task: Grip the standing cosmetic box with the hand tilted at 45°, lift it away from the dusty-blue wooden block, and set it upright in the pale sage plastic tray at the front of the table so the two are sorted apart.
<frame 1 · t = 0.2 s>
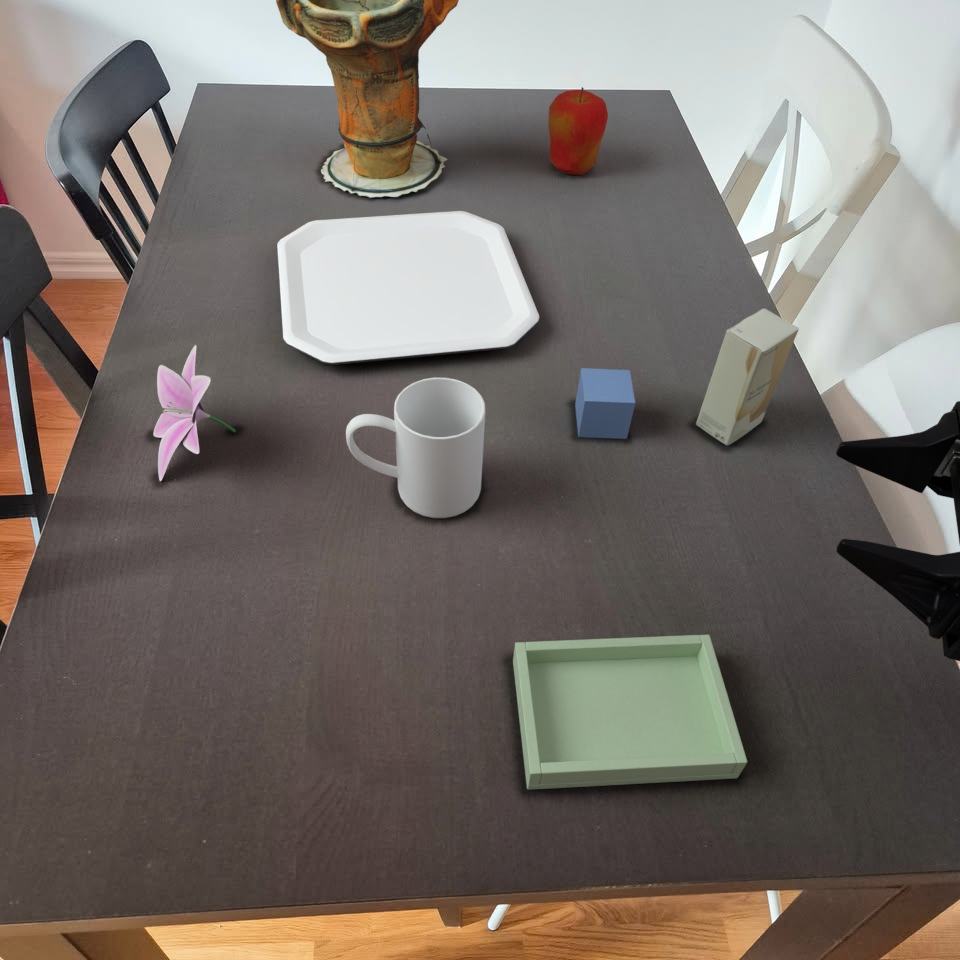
hand: (838, 494, 56), 18 cm above the table, tool horizontal, fingers open, 9 cm apart
blue block: (600, 421, 87), on the table
sage tray: (619, 716, 64), on the table
mug: (417, 491, 79), on the table
apple: (571, 169, 124), on the table
decorative vase: (377, 169, 122), on the table
lily: (193, 445, 82), on the table
cosmetic box: (728, 424, 87), on the table
plate: (403, 293, 101), on the table
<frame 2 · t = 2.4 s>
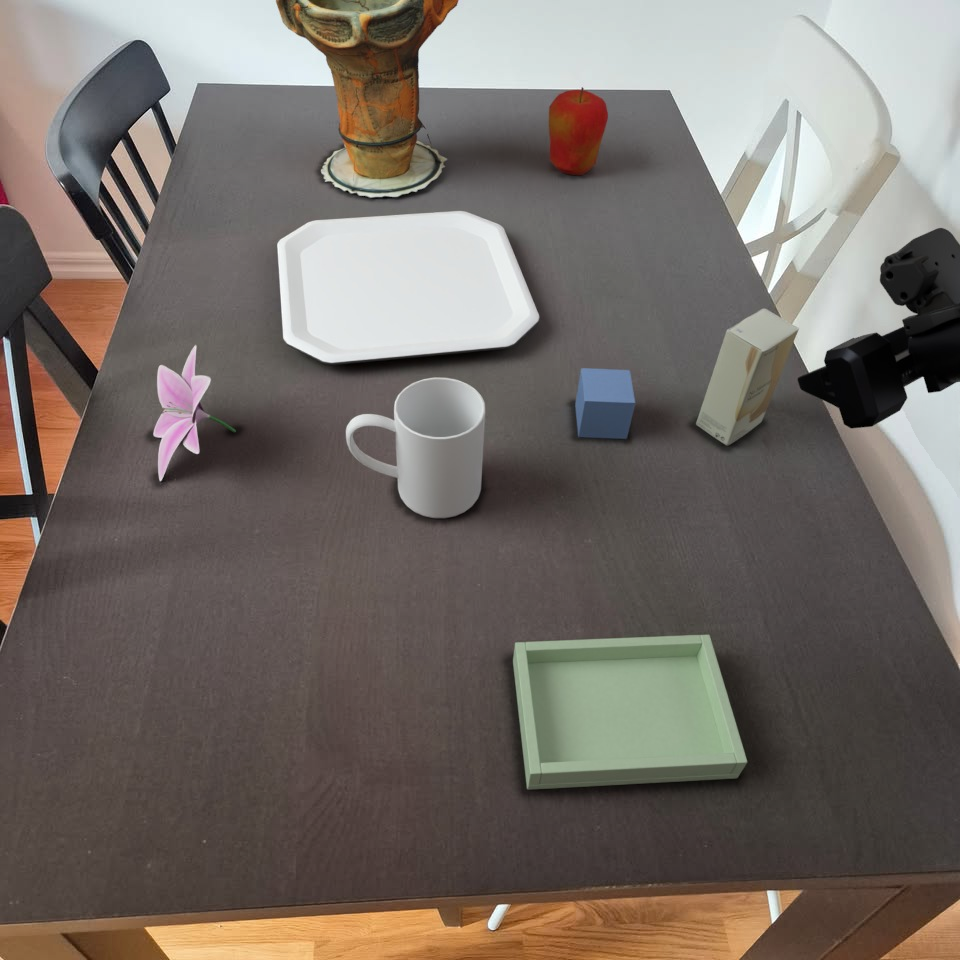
hand: (835, 365, 72), 14 cm above the table, tool tilted 45°, fingers open, 9 cm apart
nothing on the table moved.
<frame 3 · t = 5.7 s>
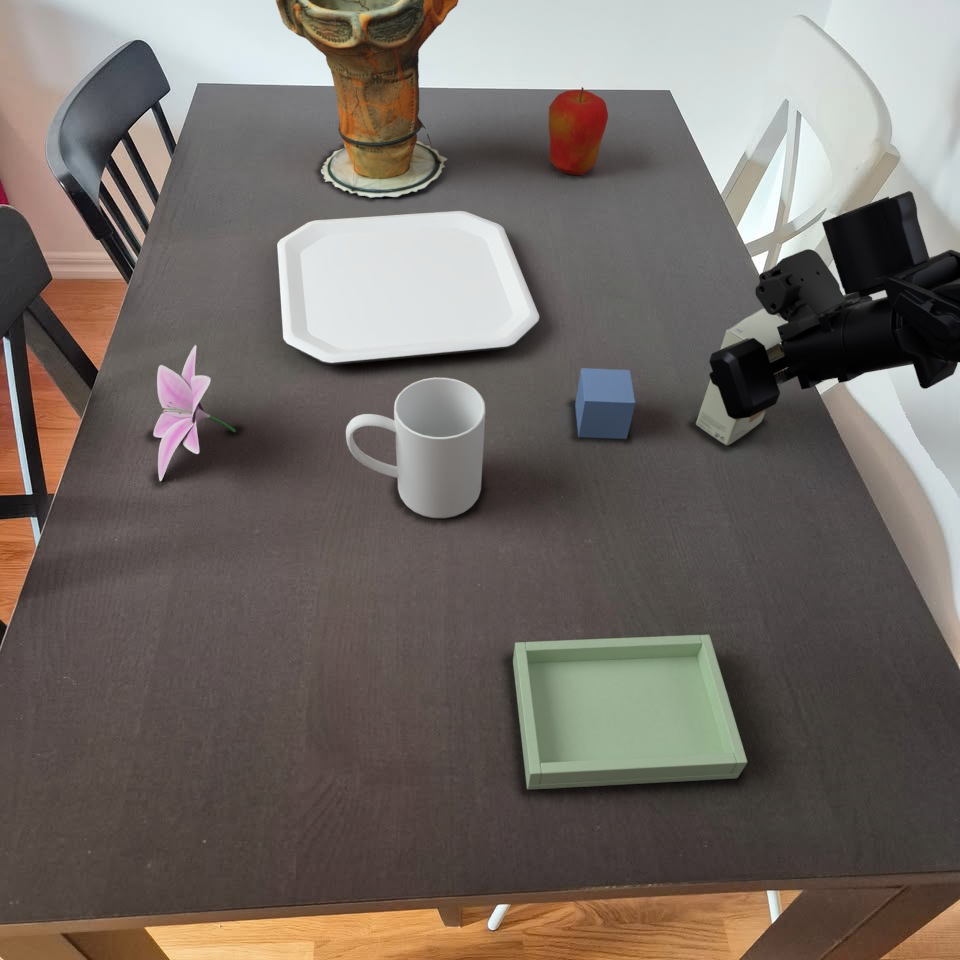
hand: (736, 367, 83), 7 cm above the table, tool tilted 45°, fingers closed on cosmetic box, 6 cm apart
cosmetic box: (728, 424, 87), on the table, touching gripper
everything else where it was.
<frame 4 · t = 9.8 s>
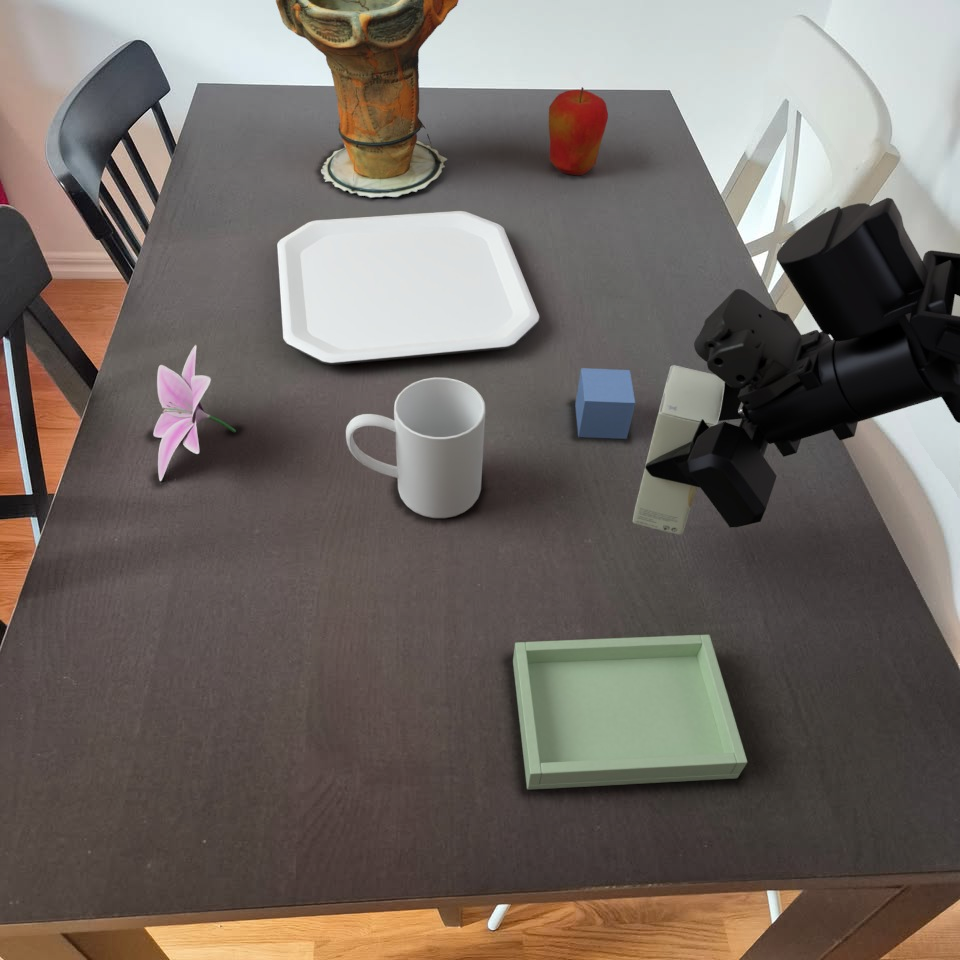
hand: (661, 443, 66), 13 cm above the table, tool tilted 45°, fingers closed on cosmetic box, 6 cm apart
cosmetic box: (662, 505, 70), point 6 cm above the table, touching gripper
everything else where it was.
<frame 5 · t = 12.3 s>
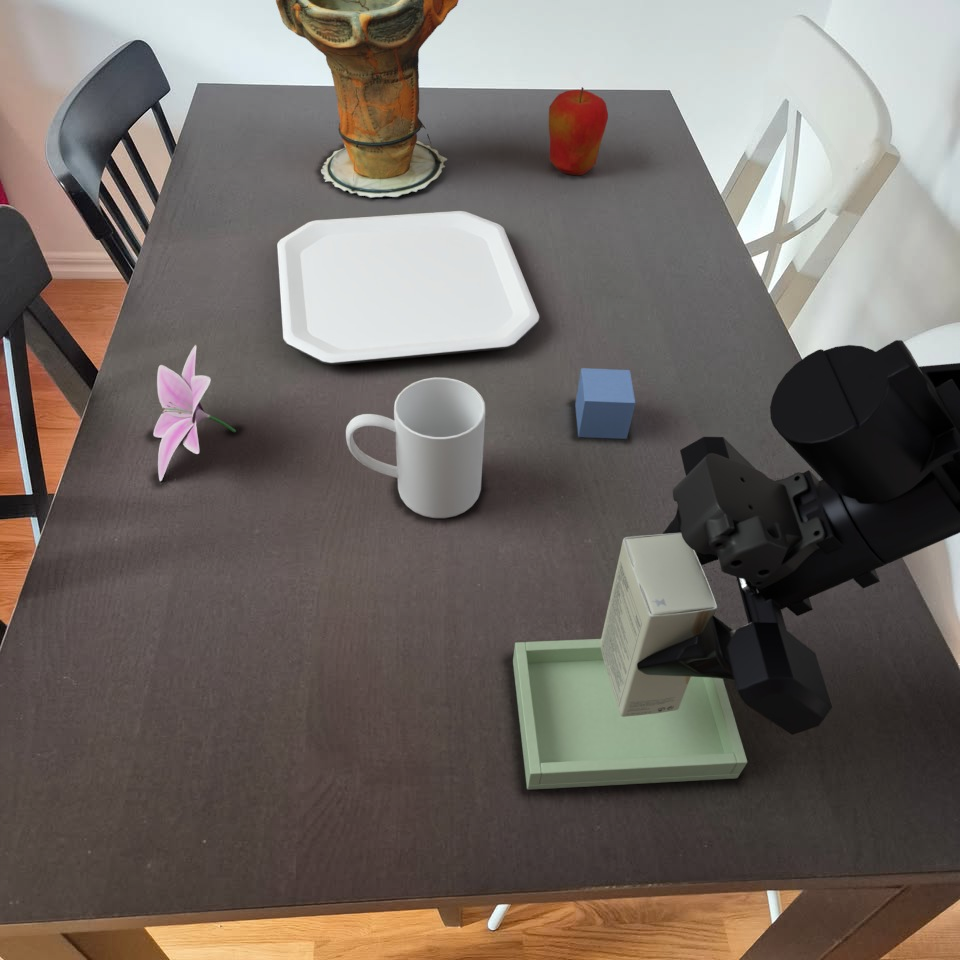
hand: (633, 623, 55), 13 cm above the table, tool tilted 45°, fingers closed on cosmetic box, 6 cm apart
cosmetic box: (636, 675, 60), point 6 cm above the table, touching gripper
everything else where it was.
when the fingers open (7 cm above the table, at t = 14.4 s): cosmetic box stays where it is, resting on sage tray.
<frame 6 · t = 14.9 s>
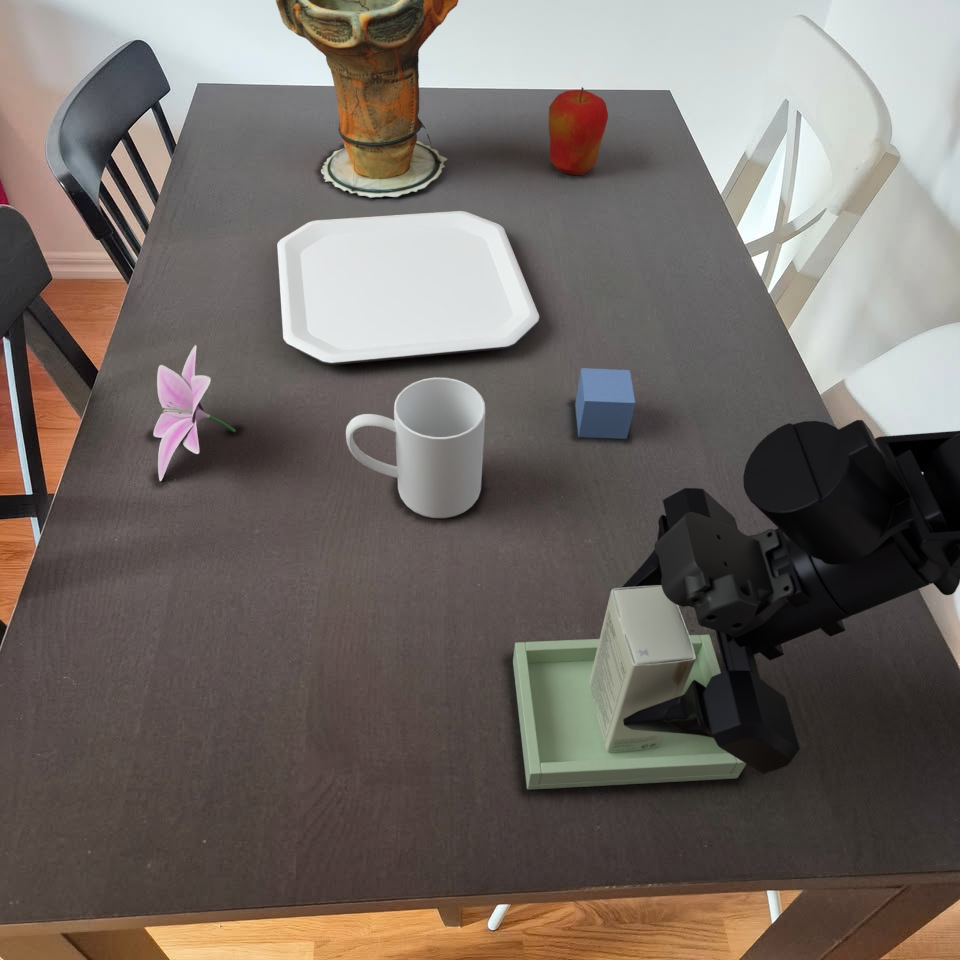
hand: (618, 663, 58), 8 cm above the table, tool tilted 45°, fingers open, 9 cm apart
cosmetic box: (622, 713, 64), point 1 cm above the table, touching sage tray
everything else where it was.
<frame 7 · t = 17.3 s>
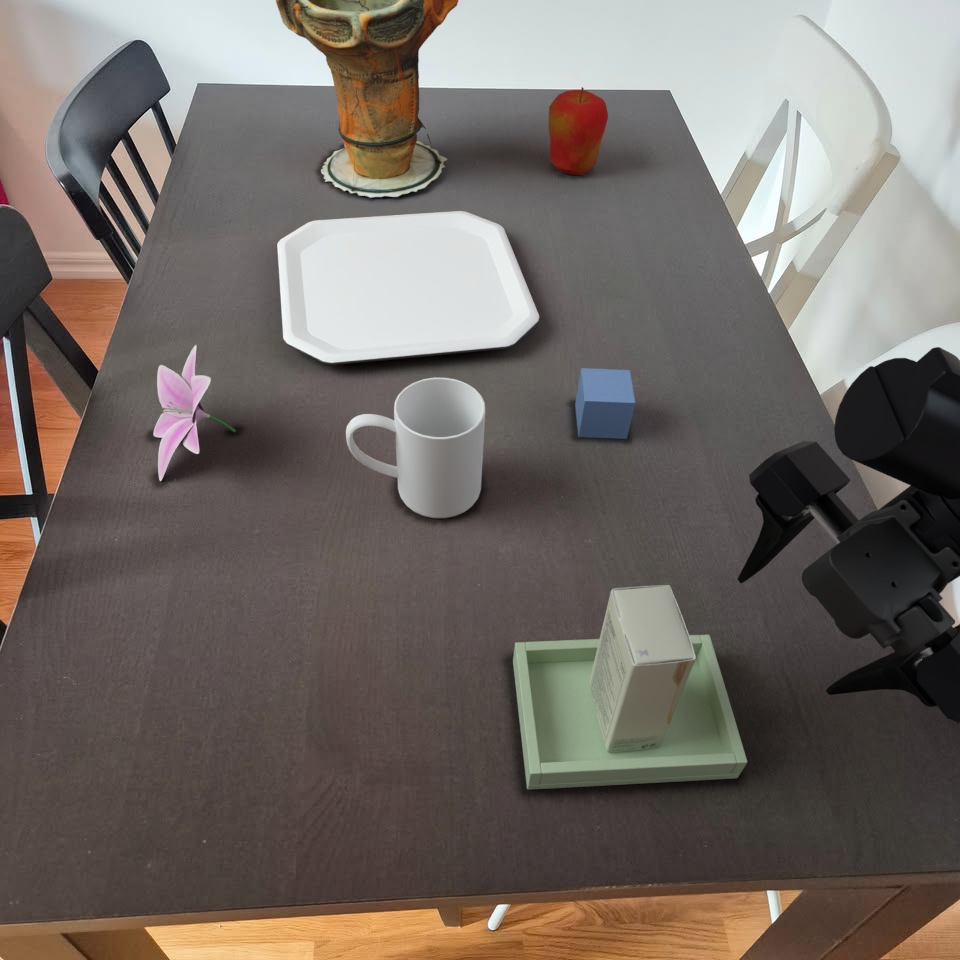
hand: (784, 633, 58), 10 cm above the table, tool tilted 25°, fingers open, 9 cm apart
nothing on the table moved.
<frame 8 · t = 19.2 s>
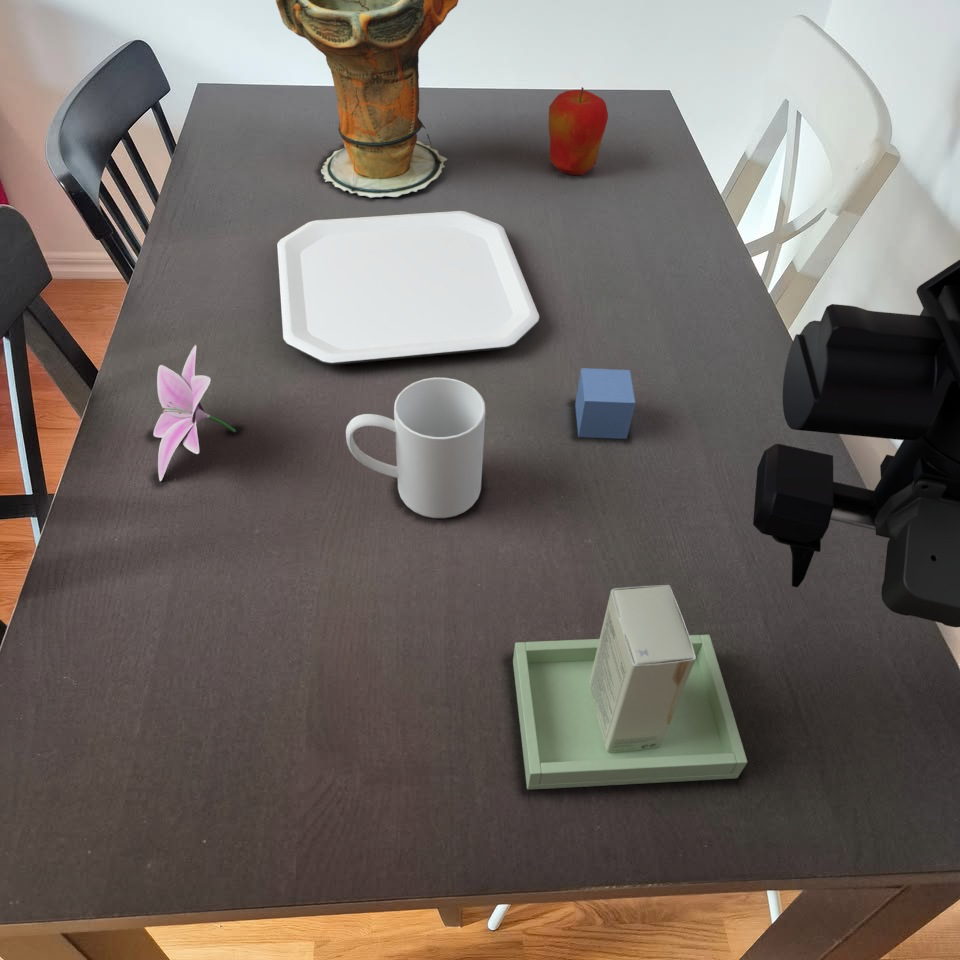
hand: (863, 598, 57), 13 cm above the table, tool pointing down, fingers open, 9 cm apart
nothing on the table moved.
at the end: cosmetic box inside the target area in the sage tray (0.1 cm from its centre), point 0.6 cm above the sage tray's base; cosmetic box tilted 0°; blue block moved 0.0 cm from its start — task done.
